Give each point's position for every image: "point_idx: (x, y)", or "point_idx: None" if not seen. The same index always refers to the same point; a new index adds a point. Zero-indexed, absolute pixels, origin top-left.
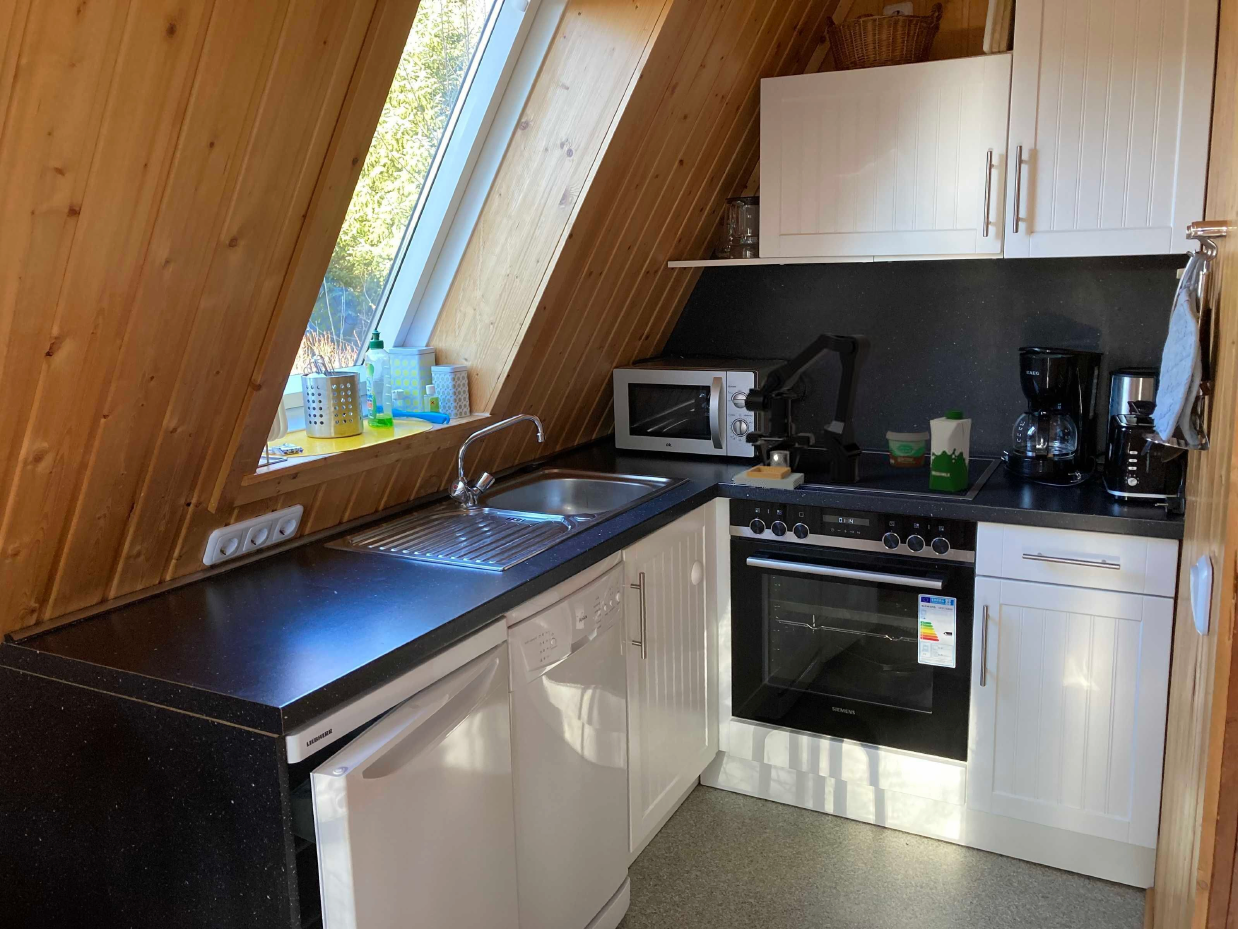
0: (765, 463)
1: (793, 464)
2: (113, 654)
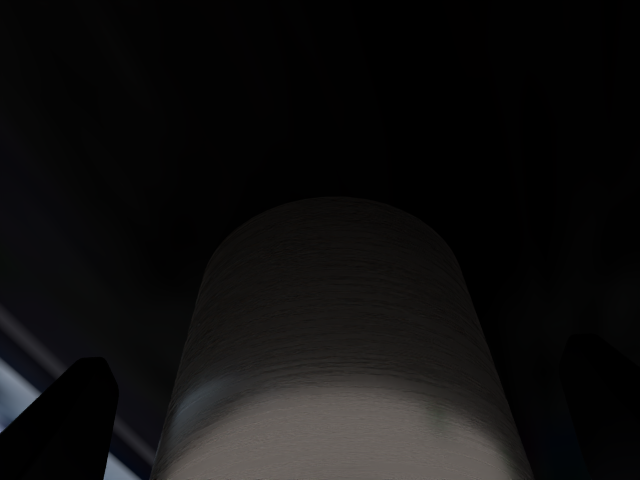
0: (98, 452)
1: (601, 465)
2: None
